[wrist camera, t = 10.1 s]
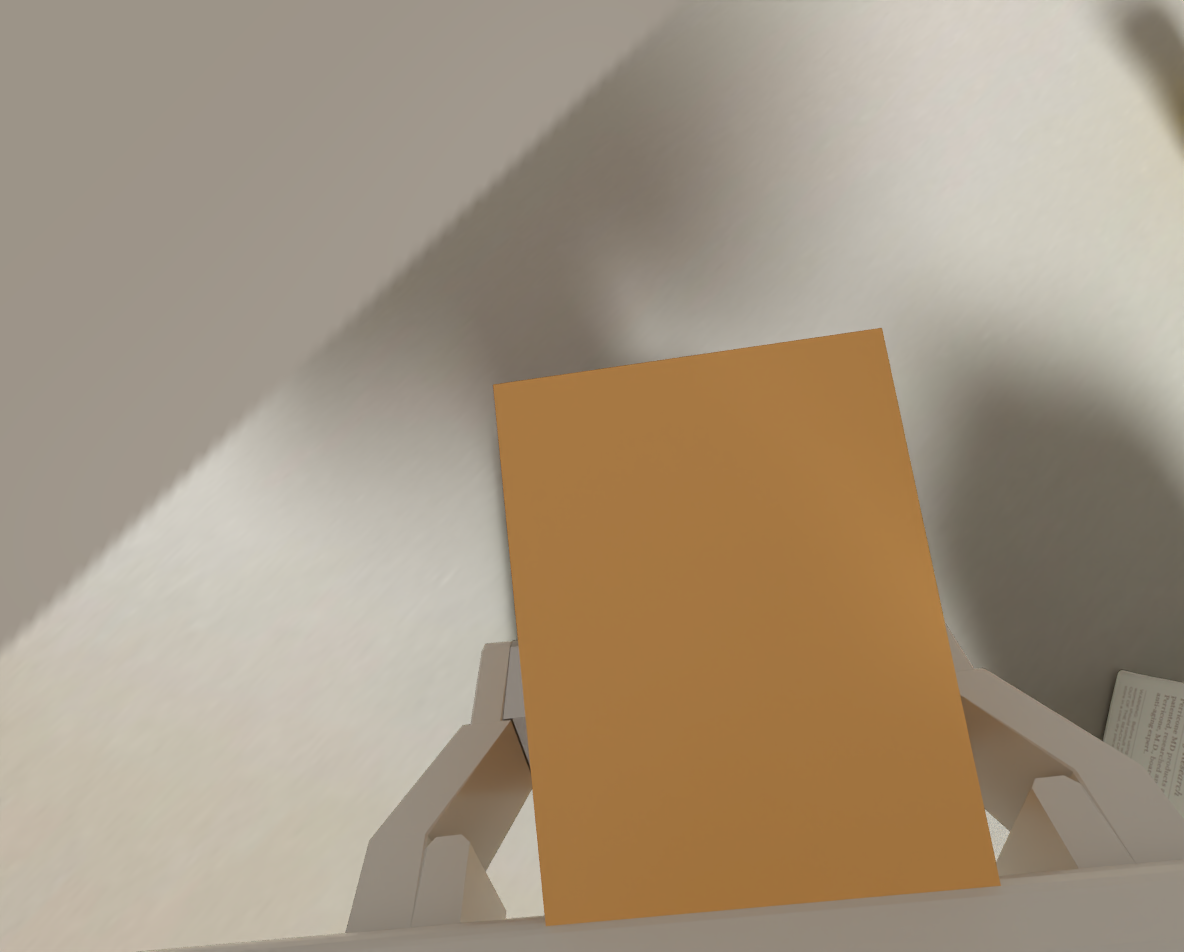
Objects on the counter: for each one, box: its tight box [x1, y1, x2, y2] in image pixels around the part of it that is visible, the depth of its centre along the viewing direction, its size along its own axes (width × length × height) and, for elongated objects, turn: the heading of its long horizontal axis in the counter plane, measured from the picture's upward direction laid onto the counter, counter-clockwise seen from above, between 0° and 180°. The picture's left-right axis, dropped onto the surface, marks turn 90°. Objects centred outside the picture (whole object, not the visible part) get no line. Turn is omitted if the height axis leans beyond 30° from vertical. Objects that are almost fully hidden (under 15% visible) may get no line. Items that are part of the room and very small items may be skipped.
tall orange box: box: [493, 328, 1001, 926], centre depth 12 cm, size 7×5×10 cm
